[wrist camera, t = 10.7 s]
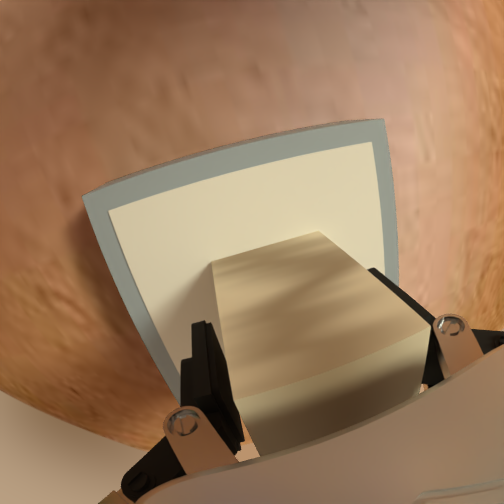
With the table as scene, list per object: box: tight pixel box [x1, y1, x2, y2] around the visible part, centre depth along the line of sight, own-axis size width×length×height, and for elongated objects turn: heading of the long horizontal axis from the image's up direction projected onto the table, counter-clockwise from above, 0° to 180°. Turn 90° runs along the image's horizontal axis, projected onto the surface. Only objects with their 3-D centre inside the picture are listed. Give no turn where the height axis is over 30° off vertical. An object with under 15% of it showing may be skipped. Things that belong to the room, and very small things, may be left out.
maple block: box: [211, 231, 431, 457], centre depth 11 cm, size 5×5×8 cm
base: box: [82, 119, 399, 405], centre depth 17 cm, size 14×14×4 cm
